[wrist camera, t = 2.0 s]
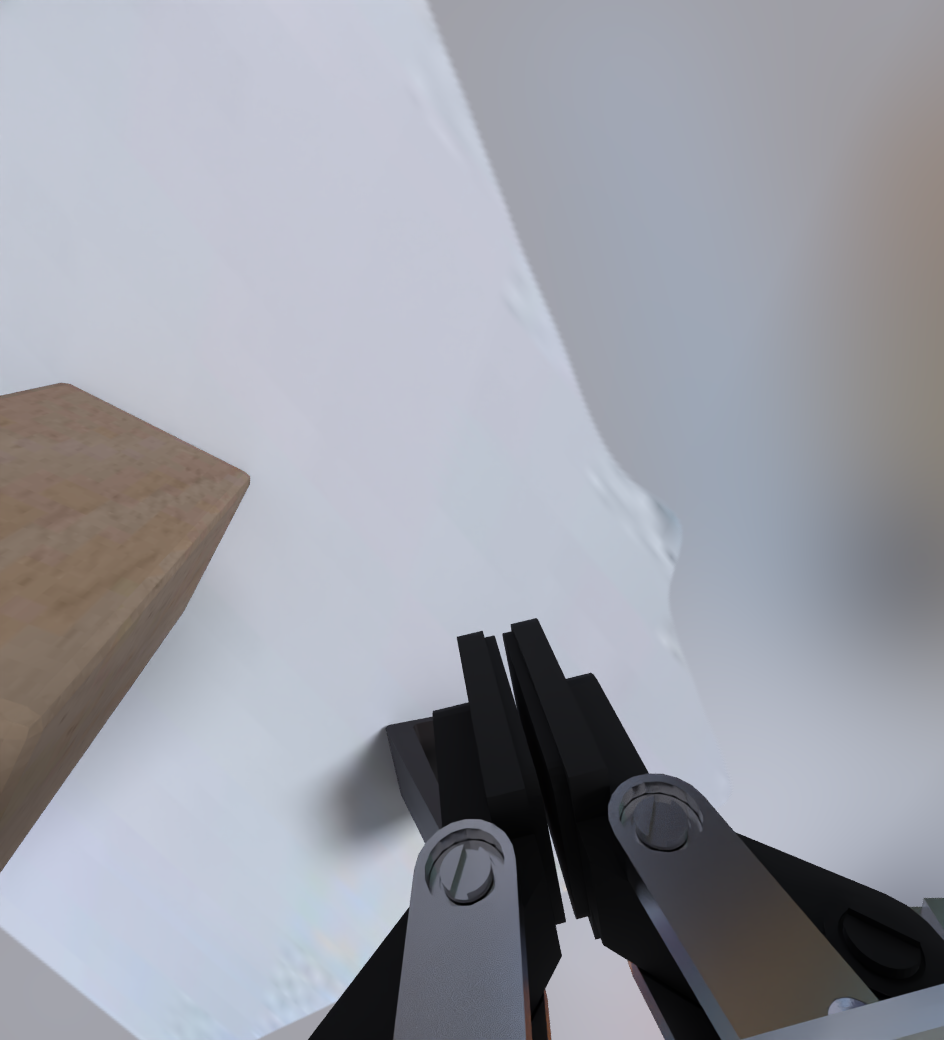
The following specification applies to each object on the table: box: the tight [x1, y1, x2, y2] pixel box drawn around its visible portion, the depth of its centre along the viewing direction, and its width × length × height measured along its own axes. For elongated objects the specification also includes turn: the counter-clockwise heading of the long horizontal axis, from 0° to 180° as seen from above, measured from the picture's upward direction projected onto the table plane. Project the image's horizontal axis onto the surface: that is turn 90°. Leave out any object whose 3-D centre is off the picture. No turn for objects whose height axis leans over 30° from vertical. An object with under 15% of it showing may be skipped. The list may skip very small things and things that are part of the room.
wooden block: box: [0, 383, 250, 872], centre depth 21 cm, size 10×10×20 cm
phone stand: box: [386, 717, 442, 843], centre depth 33 cm, size 9×6×12 cm, turn 97°
